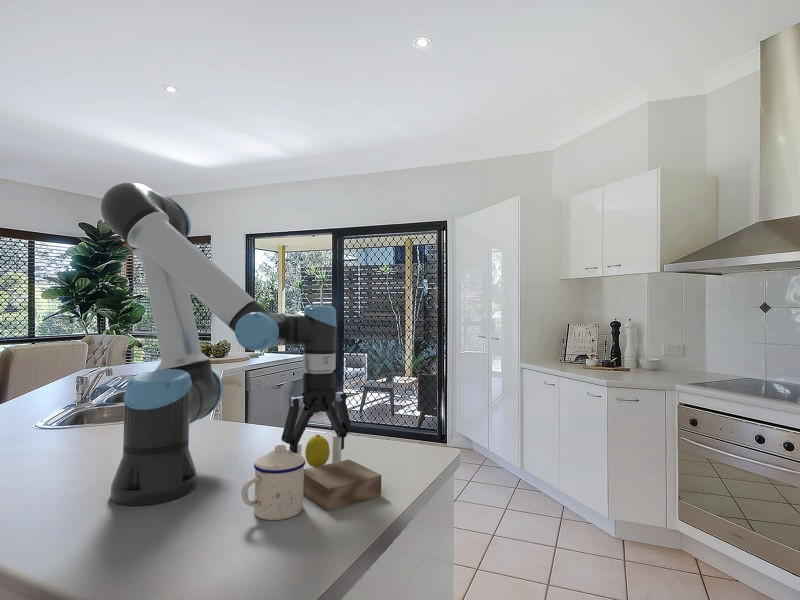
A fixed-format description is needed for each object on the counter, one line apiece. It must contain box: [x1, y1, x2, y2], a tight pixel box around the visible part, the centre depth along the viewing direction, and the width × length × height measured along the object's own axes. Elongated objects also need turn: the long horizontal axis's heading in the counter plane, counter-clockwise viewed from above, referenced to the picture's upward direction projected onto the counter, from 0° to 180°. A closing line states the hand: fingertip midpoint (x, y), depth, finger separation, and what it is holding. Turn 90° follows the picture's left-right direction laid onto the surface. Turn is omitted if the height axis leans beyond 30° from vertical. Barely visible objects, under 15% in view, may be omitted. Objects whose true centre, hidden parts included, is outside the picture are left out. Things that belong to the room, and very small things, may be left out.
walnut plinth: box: [303, 459, 382, 512], centre depth 90 cm, size 12×12×4 cm
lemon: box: [304, 433, 330, 468], centre depth 103 cm, size 6×6×8 cm
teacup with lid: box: [240, 444, 306, 521], centre depth 80 cm, size 12×9×12 cm
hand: (317, 468), depth 103 cm, fingers open, 10 cm apart
